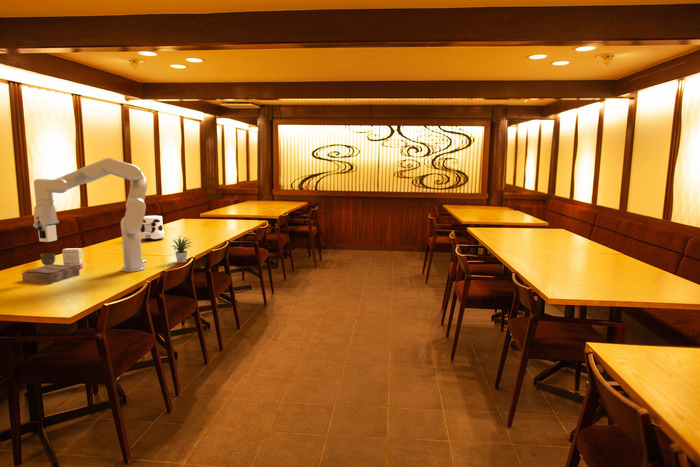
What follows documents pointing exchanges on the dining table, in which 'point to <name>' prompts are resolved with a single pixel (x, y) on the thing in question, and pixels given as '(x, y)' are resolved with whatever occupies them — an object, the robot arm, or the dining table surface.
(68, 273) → the pedestal
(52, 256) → the cup
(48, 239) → the block
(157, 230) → the milk container
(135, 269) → the robot arm
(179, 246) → the house plant
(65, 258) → the ink box
